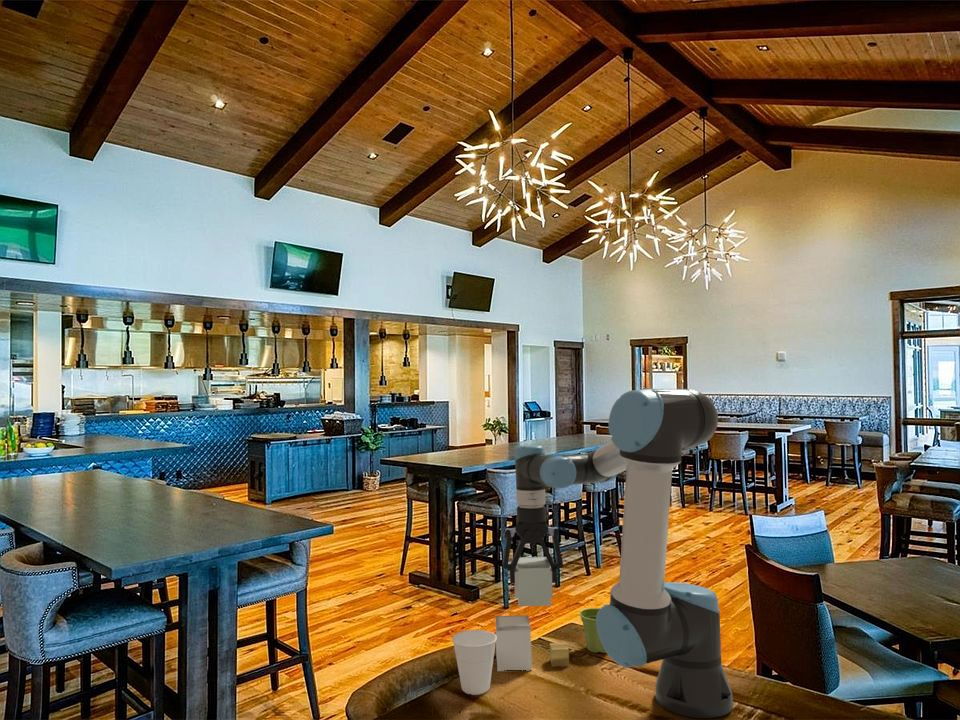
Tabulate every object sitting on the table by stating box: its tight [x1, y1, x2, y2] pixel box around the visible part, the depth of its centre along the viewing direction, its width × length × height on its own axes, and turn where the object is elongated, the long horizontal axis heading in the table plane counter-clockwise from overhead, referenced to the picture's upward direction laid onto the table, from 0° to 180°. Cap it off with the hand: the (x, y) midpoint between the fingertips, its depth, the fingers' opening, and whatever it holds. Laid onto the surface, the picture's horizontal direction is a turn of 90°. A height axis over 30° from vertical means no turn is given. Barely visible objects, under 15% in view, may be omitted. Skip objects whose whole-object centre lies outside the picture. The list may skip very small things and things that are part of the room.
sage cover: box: [515, 556, 552, 607], centre depth 161 cm, size 8×8×10 cm
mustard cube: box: [549, 642, 570, 667], centre depth 151 cm, size 4×4×4 cm
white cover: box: [494, 614, 533, 672], centre depth 151 cm, size 8×8×10 cm
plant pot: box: [578, 607, 607, 654], centre depth 159 cm, size 9×9×9 cm
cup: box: [451, 629, 497, 696], centre depth 138 cm, size 10×10×11 cm
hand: (533, 595), depth 161 cm, fingers closed on sage cover, 8 cm apart
